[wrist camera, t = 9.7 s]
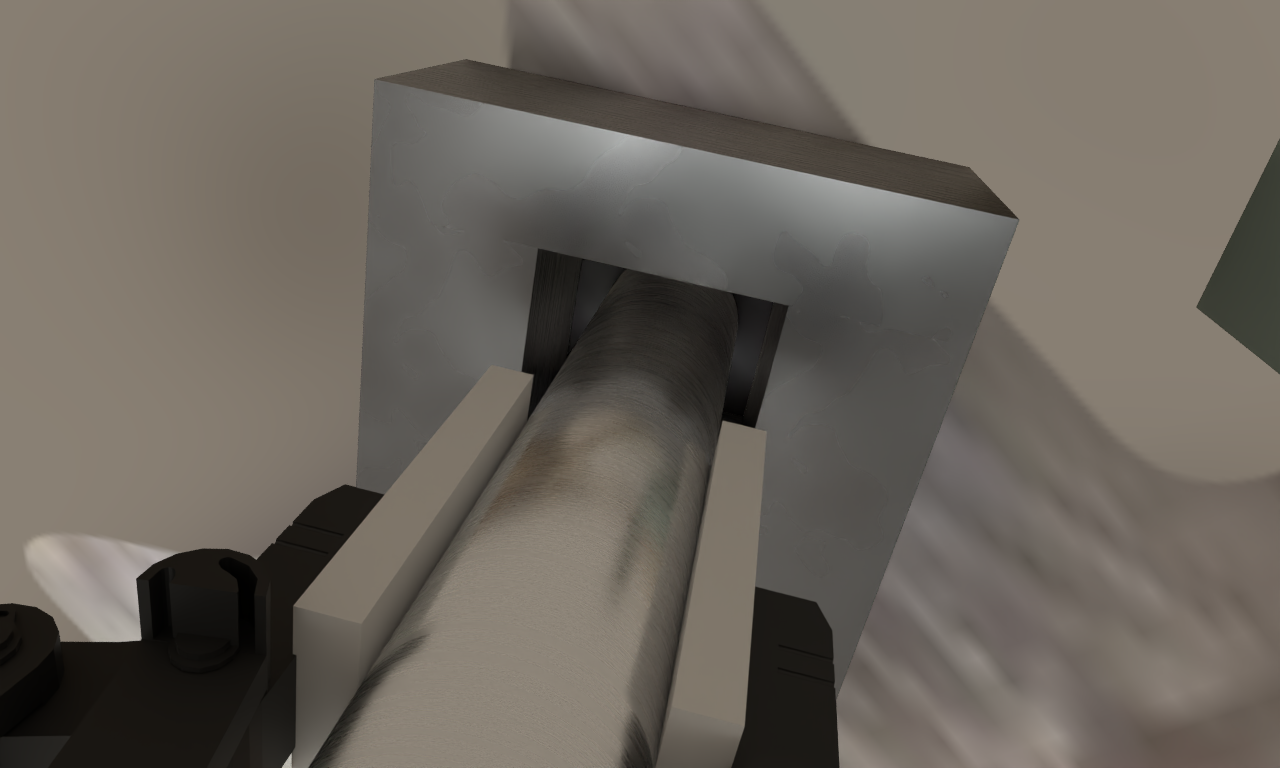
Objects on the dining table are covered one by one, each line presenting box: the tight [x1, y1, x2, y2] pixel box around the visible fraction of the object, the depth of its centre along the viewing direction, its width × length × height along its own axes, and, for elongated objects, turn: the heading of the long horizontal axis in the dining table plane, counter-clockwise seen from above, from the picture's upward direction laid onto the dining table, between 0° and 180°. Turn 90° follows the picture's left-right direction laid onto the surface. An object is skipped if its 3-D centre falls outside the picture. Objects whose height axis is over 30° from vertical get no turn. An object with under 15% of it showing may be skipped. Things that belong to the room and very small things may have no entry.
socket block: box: [356, 59, 1019, 699], centre depth 22 cm, size 20×12×5 cm, turn 170°
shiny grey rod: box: [308, 269, 738, 768], centre depth 15 cm, size 3×3×16 cm
